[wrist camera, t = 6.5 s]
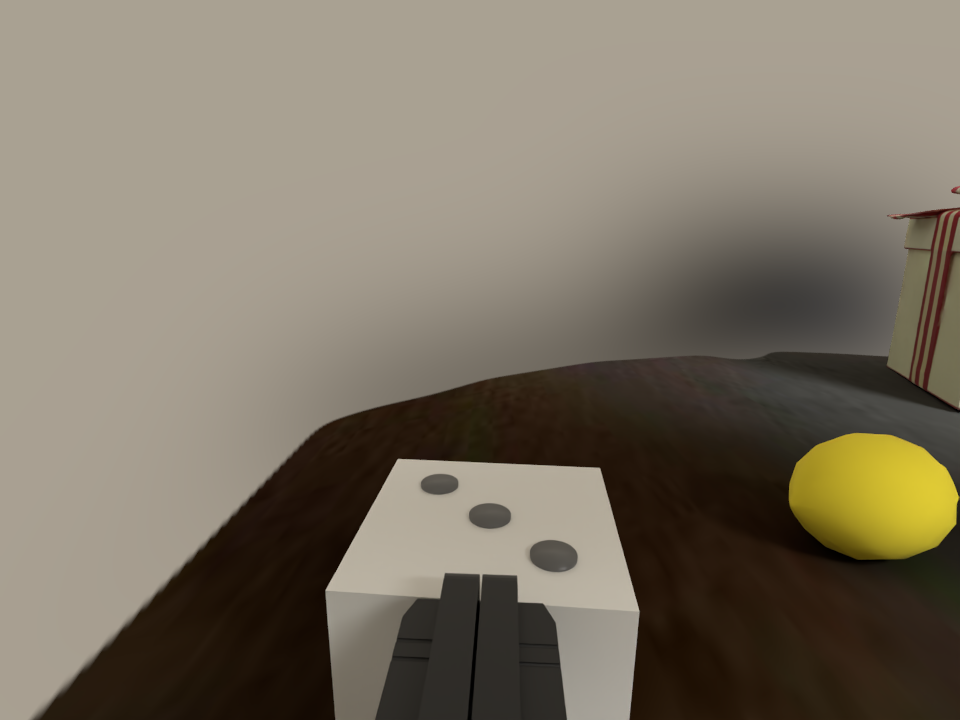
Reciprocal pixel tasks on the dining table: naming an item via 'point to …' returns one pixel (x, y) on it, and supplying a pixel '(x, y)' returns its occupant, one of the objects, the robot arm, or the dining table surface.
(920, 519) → the lemon
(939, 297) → the gift box
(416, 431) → the dining table surface
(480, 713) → the robot arm
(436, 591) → the die
